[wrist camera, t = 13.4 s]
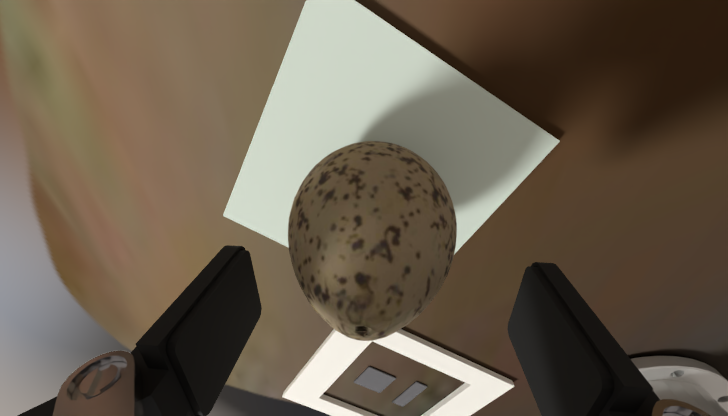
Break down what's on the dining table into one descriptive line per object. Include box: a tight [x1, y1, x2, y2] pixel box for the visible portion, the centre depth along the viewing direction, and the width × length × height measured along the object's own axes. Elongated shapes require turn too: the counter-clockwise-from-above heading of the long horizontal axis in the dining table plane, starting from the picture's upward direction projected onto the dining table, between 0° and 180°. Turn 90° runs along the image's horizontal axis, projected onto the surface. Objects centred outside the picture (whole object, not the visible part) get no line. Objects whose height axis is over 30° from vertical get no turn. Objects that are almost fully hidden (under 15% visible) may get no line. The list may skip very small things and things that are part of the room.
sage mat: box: [223, 0, 560, 254], centre depth 17 cm, size 14×14×1 cm
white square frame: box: [282, 329, 514, 416], centre depth 27 cm, size 16×14×1 cm
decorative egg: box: [288, 141, 457, 341], centre depth 13 cm, size 7×7×10 cm
